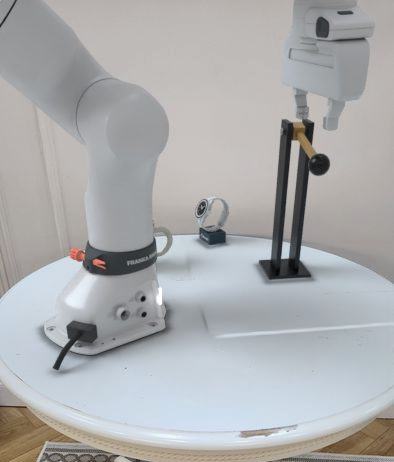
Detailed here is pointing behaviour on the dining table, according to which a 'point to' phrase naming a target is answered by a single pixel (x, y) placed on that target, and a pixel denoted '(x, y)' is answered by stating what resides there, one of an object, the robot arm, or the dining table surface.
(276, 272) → the stand
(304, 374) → the dining table surface
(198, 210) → the watch
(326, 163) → the lever
